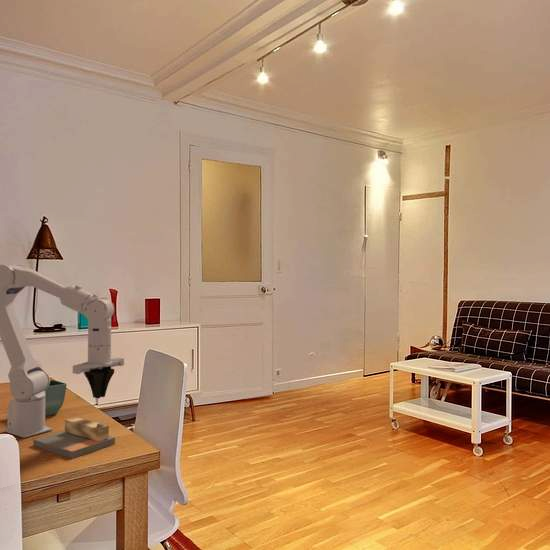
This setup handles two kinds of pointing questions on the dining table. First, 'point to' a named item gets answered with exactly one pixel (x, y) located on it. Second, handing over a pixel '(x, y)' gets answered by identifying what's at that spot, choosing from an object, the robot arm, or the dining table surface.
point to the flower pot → (54, 397)
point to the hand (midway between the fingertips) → (99, 397)
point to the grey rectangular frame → (70, 444)
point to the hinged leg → (87, 429)
